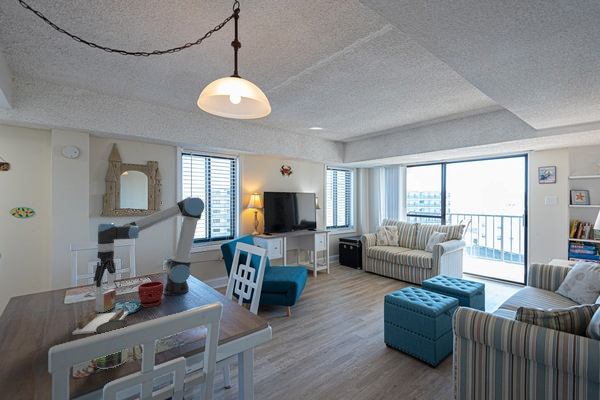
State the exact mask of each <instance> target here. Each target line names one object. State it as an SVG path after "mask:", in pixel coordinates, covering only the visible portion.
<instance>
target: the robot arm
mask: <svg viewBox="0 0 600 400" xmlns="http://www.w3.org/2000/svg"><path fill="white" fill-rule="evenodd" d="M204 211H205V203H204V201H203V200H202V198H200V197H198V196H189V197H188V196H187V197H186V198H184V199H182V200H180V201H178V202H176V203H175V204H174V205H172V206H169V207H166V208H164V209H162V210H159V211H157V212H154V213H152V214H149V215H146V216H144V217H141V218H139V219H136V220H134V221H131V222H129V223H125V224H123V225H122V226H121V225H120V226H116V225H115V223H114V222H100V223H99V224H98V228H97V245H96V247H97V259H100V261H97V263H96V269H95V274H94V278H93V281H94V282H95V294H96V293H102V291H103V282H104V281H103V277H104V274H105V271H106V270H107V272H108V273H107V285H108V286H113V285H114V281H115V279H114V276H115V275H114V274H115V273H117V271H116V265H115V261H114V257H115V251H114V250H115V240H130V239H131V240H133V239H135V240H137V239H138V238H139V233H141V232H143V231H145V230H147V229H148V230H149V229H151V228H153V227H155V226H158V225H160V224H162V223H165V222H167V221H170V220H172V219H175V218H177V217H182V225H181V228H180V233H179V238H178V242H177V246H176V251H175V255H174V256H173V257H168V258H167V259H166V282H165V286H164V287H163V294H164V295H165V296H178V295H182V294H186V293H187V292H189V289H190V288H189V283H188V281H187V280H188V279H190V278H189V277H190V275H191V265H192V260H191V257H190V256H191V254H192V253H191V252H192V248H193V245H194V244H193V243H194V239H195V235H196V230H197V225H198V221H200V220H201V218H202V213H203V212H204Z"/></svg>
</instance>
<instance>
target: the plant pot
mask: <svg viewBox="0 0 600 400" xmlns="http://www.w3.org/2000/svg"><path fill="white" fill-rule="evenodd" d="M137 290H138V298H139V300H140V302H139V305H140V306H141V307H144V308H150V307H156V306H157V305H160V304H161V303H162V302H163V299H162V297H163V294H164V282H162V281H149V282H144V283H141V284H139V285H138V287H137Z"/></svg>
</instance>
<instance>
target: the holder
mask: <svg viewBox="0 0 600 400" xmlns="http://www.w3.org/2000/svg"><path fill="white" fill-rule="evenodd" d="M128 314H129V311H125V308H120V309H119V310H118V311H117V312H109V313H108V312H105V313H98V312H97V311H95V310H93V311H92V312H91V313H89V314H88V315H87V316H85V317H84V318H83V319H82V320H80V321H79V322H78V327H77V328H76V329H75V330H73V331H72V336H73V335H83V334H84V335H85V334H95V333H94V332H96V328H97V327H98V326H99V325H101V324H103V323H106V322H109V321H113V320H125V319H124V318H126V316H127V315H128Z"/></svg>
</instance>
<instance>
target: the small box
mask: <svg viewBox="0 0 600 400" xmlns="http://www.w3.org/2000/svg"><path fill="white" fill-rule="evenodd" d="M116 303H117V289H112V288H107V289H104V290H102V293H96V292H95V310H94V311H97V313H99V312H105V313H107V312H109V311H111V310H113V309H112V308H114V307H116V308H117V305H116ZM110 309H111V310H110ZM114 309H115V308H114ZM108 310H109V311H108ZM106 311H107V312H106Z"/></svg>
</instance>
